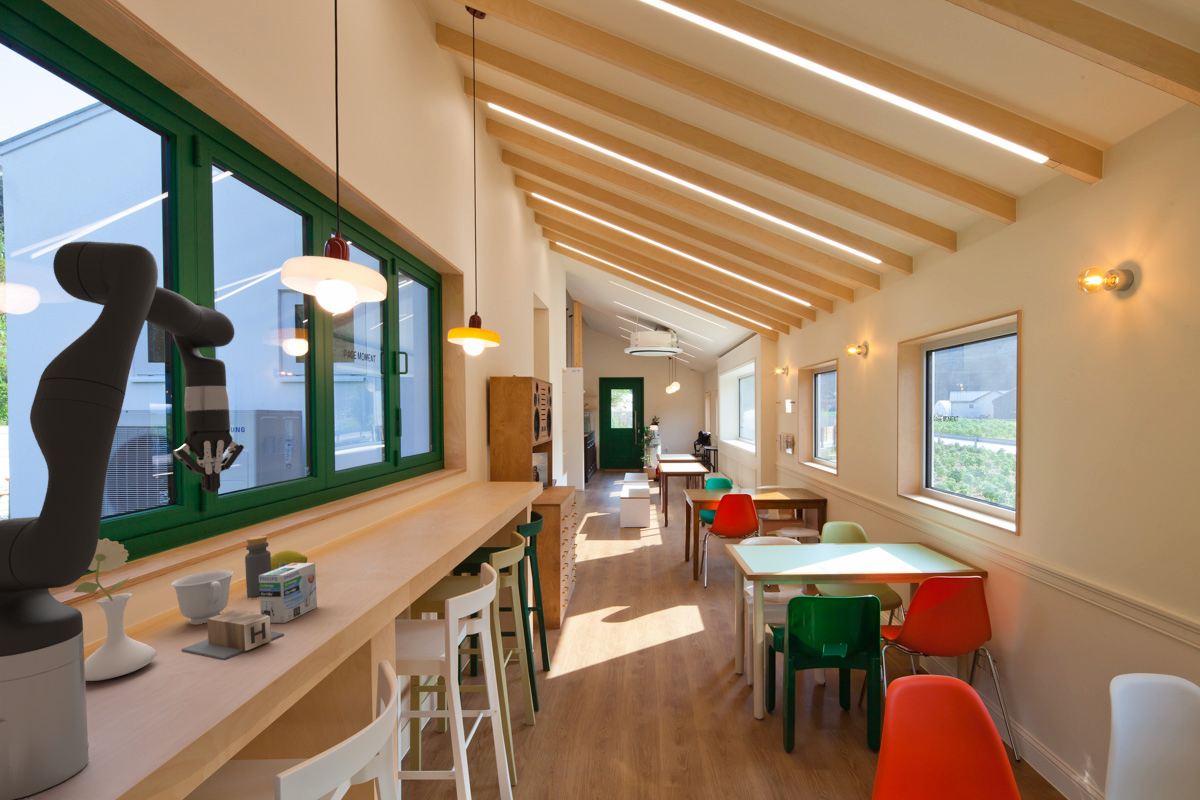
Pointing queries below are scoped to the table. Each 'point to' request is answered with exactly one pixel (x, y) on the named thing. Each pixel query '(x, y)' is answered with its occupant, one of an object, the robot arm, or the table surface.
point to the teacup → (203, 594)
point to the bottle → (256, 563)
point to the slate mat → (219, 648)
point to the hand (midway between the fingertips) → (211, 492)
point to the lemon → (286, 559)
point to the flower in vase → (113, 621)
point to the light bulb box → (288, 592)
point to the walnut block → (239, 630)
